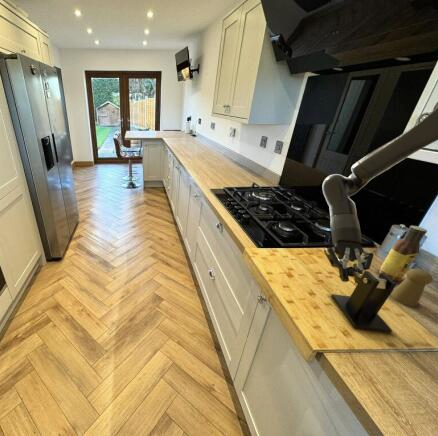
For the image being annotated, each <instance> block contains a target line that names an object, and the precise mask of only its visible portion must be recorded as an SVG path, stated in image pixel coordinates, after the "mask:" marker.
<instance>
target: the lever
mask: <svg viewBox="0 0 438 436" xmlns="http://www.w3.org/2000/svg"><path fill="white" fill-rule="evenodd" d="M346 269H348V277H350V278H354V276H358V277H360V278H361V277H362V275H363V274H361V273H358V271H357V269H356V268H354V267H353V266H352V265H351V266H347V268H346ZM374 277H375V278H376V279H377V280H378V281H380V283H379V284H378V286H377V287H376V288H382V289H385V288H386V282H387V280H385V279H382V278H379V276H374Z"/></svg>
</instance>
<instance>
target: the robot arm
mask: <svg viewBox="0 0 438 436" xmlns="http://www.w3.org/2000/svg"><path fill="white" fill-rule="evenodd" d="M437 141H438V101H437V102H436V103H435V105H434V107H433V109H432V110H431V112H430V113H428V114H427V115H426V116H425V117H424V118H422V119H421V120H420V121H419V122H417V123H416V124H415V125H413V126H412V127H410V128H409V129H408V130H406V131H404V132H403V133H401V134H400V135H399V136H397V137H395V138H393V139H391V140H390V141H388V142H386V143H384V144H382V145H381V146H379V147H378V148H376V149H374V150H373V151H371V152H369V153H368V154H367V155H365V156H364V157H362V158H360V159H359V160H358V161H356V162H355V163H354V164H352V166H351V168H350V170H351V172H352V173H351V174H350V175H349V176H348V177H346V176H344V175H342V174H338V173H334V174H330V175H328V176H327V177H326V178H325V179H324V180H323V182H322V186H321V187H322V193H323V196H324V198H325V201H326V203H327V205H328V207H329V208H328V209H329V217H330V222H329V223H330V224H329V225H330V233H331V242H332V243H331V244H332V247H328V248H324V250H323V252H324V254H325V256H326V258H327V260H328V262H329V264H330V266H331V267H332V268H336V269H338V274H339V279H340V281H341V282H343V283H348V282H350V278H349V277H350V276H348V269H346V268H347V267H348V262H349V264H350V265H351V267H354V268H356V269H357V271H358V273H361V274H363V273H364V271H368V270H370V268H371V265H372V262H373V259H374V253H373V252H367V251H365V250H364V248H363V247H362V243H363V240H362V233H361V227H360V221H359V219H358V213H357V208H356V203H355V202H354V201H353V200H352V199H351V198H350V197H352V196H354V195H355V194H357V193H358V192H359V191H361V189H362V188H363V187H365V186H366V185H367V184H368V183H369V182H370V181H371V180H372V179H374V178H376V177H378V176H379V175H381V174H382V173H384V172H386V171H388V170H389V169H391V168H392V167H394V166H395V165H397V164H399V163H400V162H402V161H403V160H405V159H407V158H408V157H410V156H412V155H413V154H415V153H417V152H418V151H420V150H422V149H424V148H426V147H428V146H430V145H432V144H433V143H435V142H437ZM353 279H354V283H355V284H356V285H357V284H358V282H359V280H360V279H361V278H360V277H358V276H354V277H353Z"/></svg>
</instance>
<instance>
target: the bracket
mask: <svg viewBox="0 0 438 436" xmlns="http://www.w3.org/2000/svg"><path fill="white" fill-rule="evenodd" d="M375 277H376V276H375V275H374V274H373V273H371V272H370V271H368V270H364V271H363V275H362V277H361V279H360V280H359V282H358V284H357V283H356V285H355V287H354V290H353V291H352V292H351V295H350V296H349V295H341V294H335V293H332V294H331V296H330V298H331V299H332V301H333V302H334V303H335V304H336V306H337V307H338V309H339V310H340V311H341V313H342V314H343V315H344V317H345V318H346V319H347V321H348V322H349V323H350V326H352V328H353V329H357V330H363V331H370V332H377V333H384V334H390V335H391V334H392V332H393V329H392V328H391V327H390V326H389V325H388V324H387V323H386V322H385V321H384V320H383V318H382V317H381V316H380V314H378V313H379V312H380V310H381V309H382V307H383V306H384V305H385V303H386V302H387V300H388V299H389V297H390V296H391V293H392V292H393V291H394V290H395V289H396V287H397V285H398V284H397V283H396V281H395V280H392V279H391V278H389V277H388V276H387V275H386V274H385V273H379V275H378V277H379V278H382V279H385V280H387V282H386V288H385V289H382V288H376V287H377V286H378V284H379V283H380V281H378V280H377V279H376V278H375Z"/></svg>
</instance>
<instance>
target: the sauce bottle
mask: <svg viewBox="0 0 438 436" xmlns="http://www.w3.org/2000/svg"><path fill="white" fill-rule="evenodd" d="M407 229H408V230H407V232H406V234H405V235H404V237H402V238H401V239H398V240H397V241H396V242H395V243H394V245H393V246H392V247H391V249H390V251H389V252H388V254H387V256H386V257H385V259H384V261H383V263H382V264H381V266H380V268H379V269H378V273H379V274H380V273H385V274H386V275H387V276H388V277H389V278H391V279H392V280H393V281H394V282H396V281H397V282H399V281H401V280H402V278H404V276H405V275H406V274H407V272H408V271H409V270H410V268H411V266H412V265H413V263H414V262H415V260H416V259H417V257H418V255H419V254H420V244H421V241H422V239H423V237H424V236H425V235H426V234H427V232H428V229H426V228H425V227H424V228H423V227H421V226H418V225H409V228H407Z"/></svg>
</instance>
